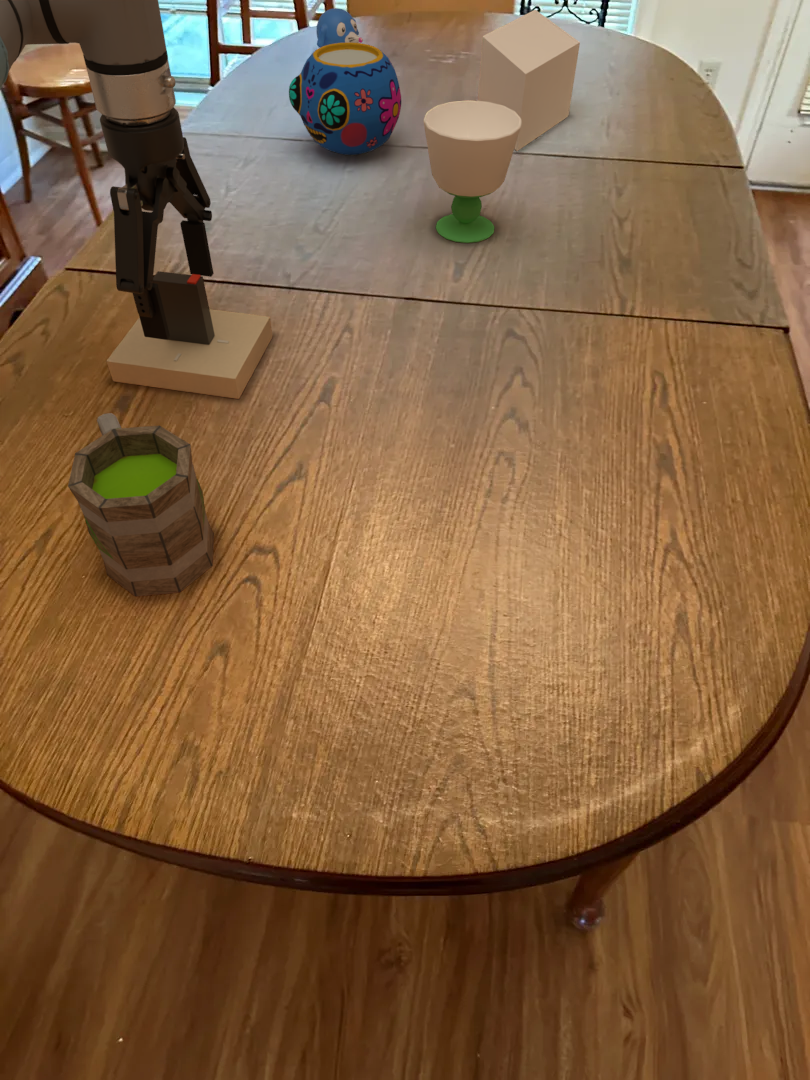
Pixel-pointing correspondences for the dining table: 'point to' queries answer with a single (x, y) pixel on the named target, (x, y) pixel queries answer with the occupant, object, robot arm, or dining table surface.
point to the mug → (143, 507)
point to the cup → (469, 161)
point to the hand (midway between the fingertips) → (180, 304)
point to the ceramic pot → (347, 97)
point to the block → (529, 72)
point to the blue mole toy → (337, 28)
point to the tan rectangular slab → (195, 357)
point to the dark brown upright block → (185, 307)
